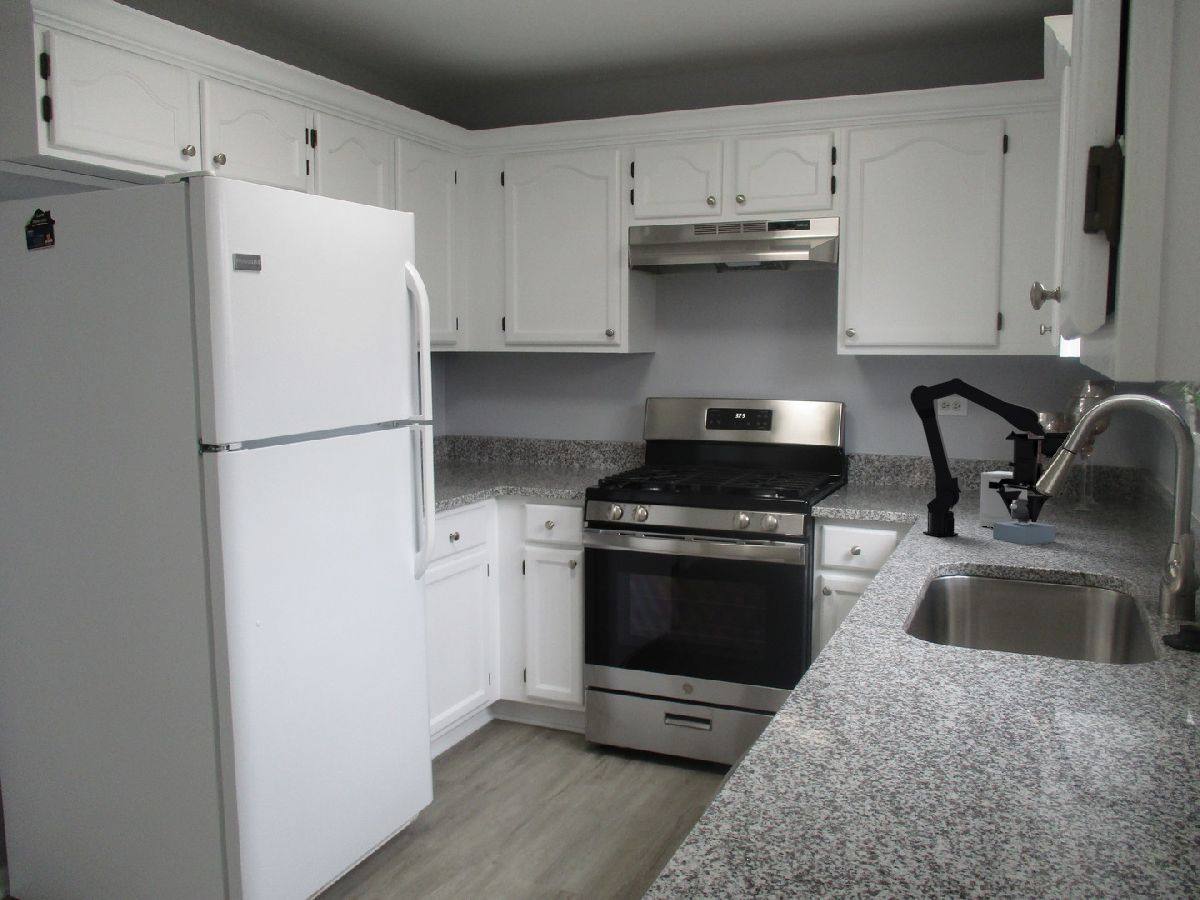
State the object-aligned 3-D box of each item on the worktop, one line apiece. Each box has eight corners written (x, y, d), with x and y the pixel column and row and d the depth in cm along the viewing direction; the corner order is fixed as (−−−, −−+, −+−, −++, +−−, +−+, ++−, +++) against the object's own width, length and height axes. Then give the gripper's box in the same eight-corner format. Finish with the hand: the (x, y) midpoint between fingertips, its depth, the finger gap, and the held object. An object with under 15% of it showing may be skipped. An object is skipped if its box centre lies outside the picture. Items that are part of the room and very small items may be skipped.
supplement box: (1009, 530, 254) (1010, 474, 253) (978, 526, 261) (979, 472, 260) (1027, 527, 259) (1028, 472, 258) (997, 523, 267) (998, 470, 265)
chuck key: (1020, 534, 234) (1021, 502, 233) (1002, 530, 239) (1002, 499, 239) (1045, 532, 237) (1046, 500, 236) (1026, 529, 242) (1027, 497, 242)
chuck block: (993, 538, 241) (993, 522, 241) (1023, 535, 245) (1023, 520, 244) (1023, 544, 232) (1024, 528, 231) (1054, 541, 235) (1055, 525, 235)
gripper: (1080, 460, 231) (1078, 523, 232) (1021, 454, 248) (1019, 513, 249) (1046, 461, 227) (1044, 526, 228) (987, 456, 244) (986, 516, 245)
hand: (1023, 520), depth 238 cm, fingers closed on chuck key, 6 cm apart
